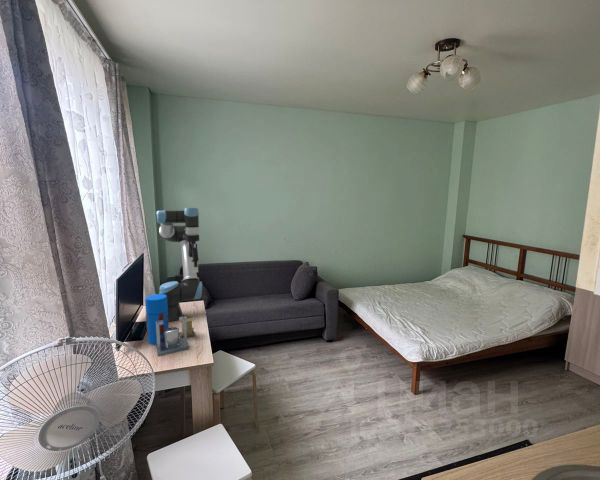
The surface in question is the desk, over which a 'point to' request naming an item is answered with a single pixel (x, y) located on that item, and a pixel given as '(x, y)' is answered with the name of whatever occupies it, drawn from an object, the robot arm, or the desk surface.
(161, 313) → the thermos
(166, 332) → the grey metal stand
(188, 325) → the brass cap
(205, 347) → the desk surface
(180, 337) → the rubber mat
